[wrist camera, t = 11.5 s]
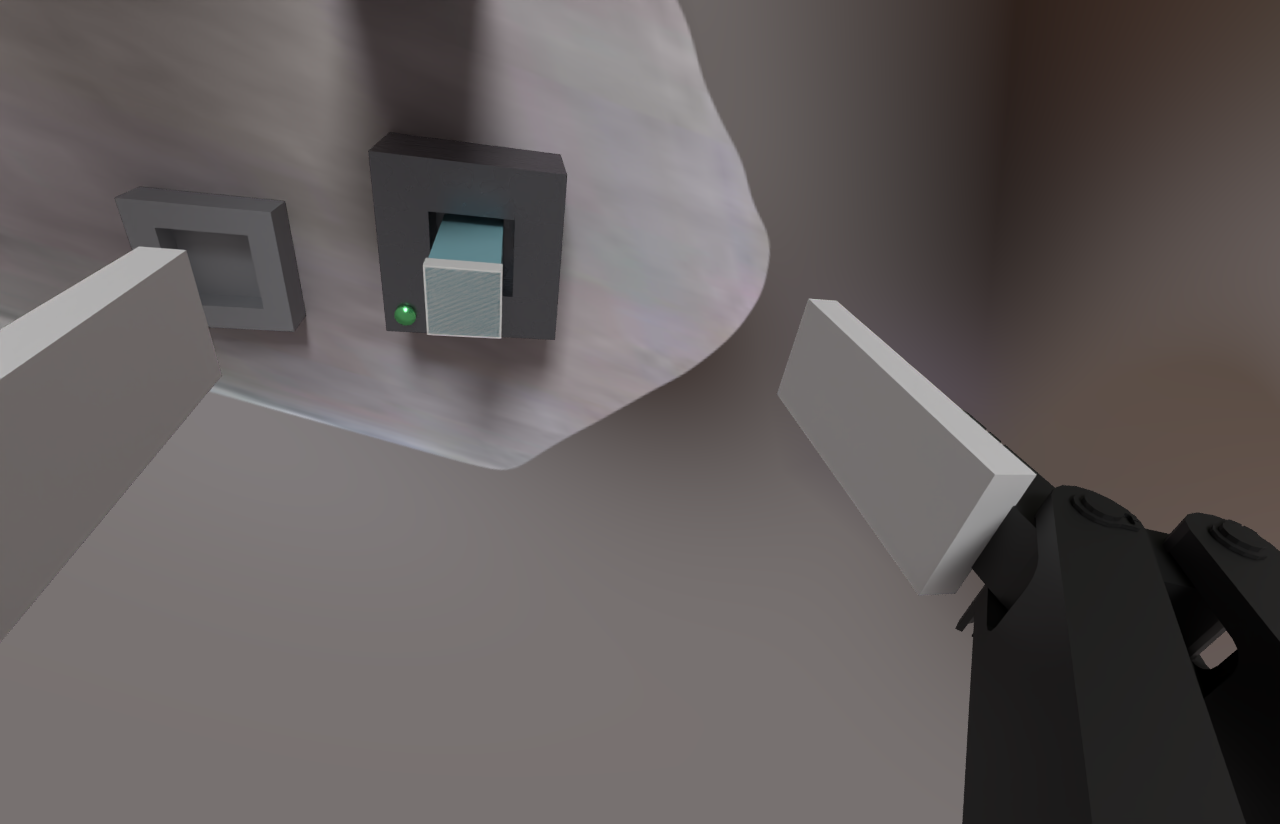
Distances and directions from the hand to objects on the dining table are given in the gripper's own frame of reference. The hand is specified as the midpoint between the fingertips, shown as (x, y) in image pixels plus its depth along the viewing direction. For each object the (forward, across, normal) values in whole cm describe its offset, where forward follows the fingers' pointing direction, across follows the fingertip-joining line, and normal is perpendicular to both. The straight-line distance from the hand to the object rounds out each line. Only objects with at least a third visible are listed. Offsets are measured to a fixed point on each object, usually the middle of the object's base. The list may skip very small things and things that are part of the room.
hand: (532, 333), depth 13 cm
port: (+35, -3, -8) cm, 36 cm away
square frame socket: (+35, -21, -12) cm, 42 cm away
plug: (+32, -3, -8) cm, 33 cm away
